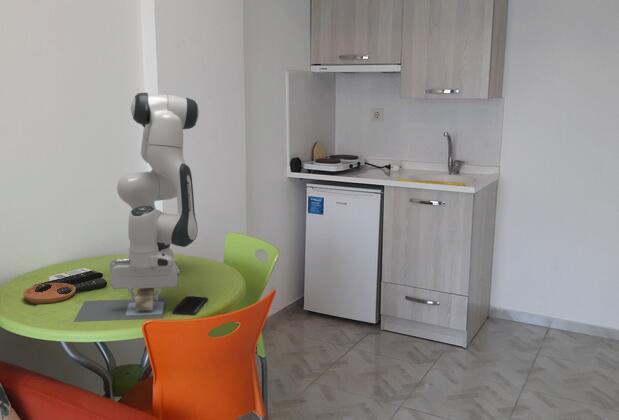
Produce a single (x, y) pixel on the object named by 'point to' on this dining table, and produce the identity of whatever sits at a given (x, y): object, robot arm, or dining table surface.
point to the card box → (144, 299)
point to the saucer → (48, 293)
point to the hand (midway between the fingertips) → (145, 300)
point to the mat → (118, 310)
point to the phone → (190, 305)
